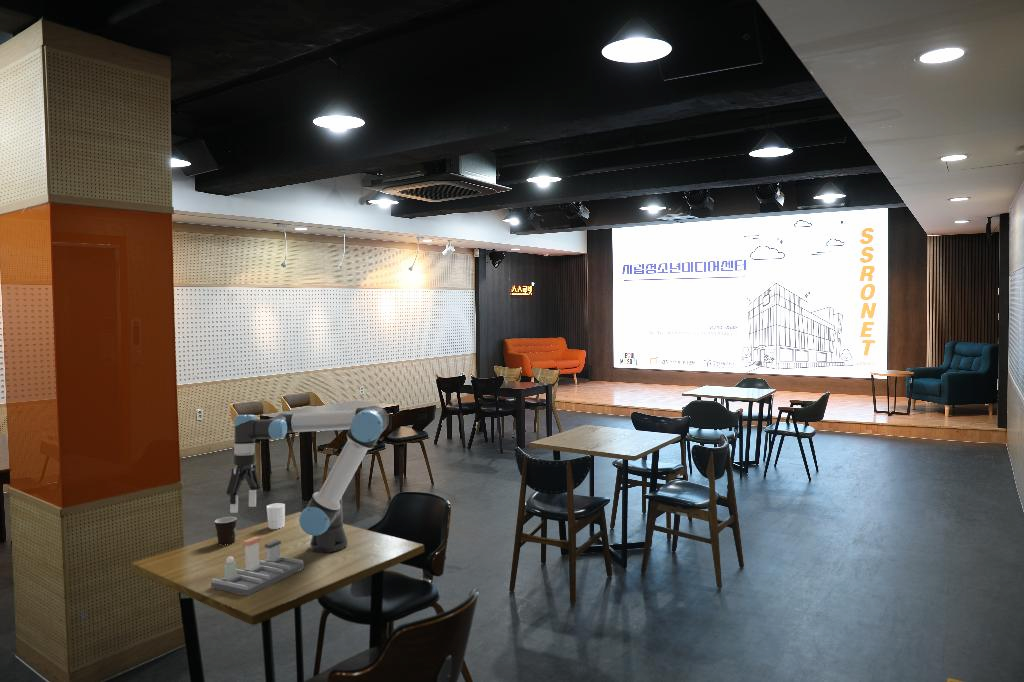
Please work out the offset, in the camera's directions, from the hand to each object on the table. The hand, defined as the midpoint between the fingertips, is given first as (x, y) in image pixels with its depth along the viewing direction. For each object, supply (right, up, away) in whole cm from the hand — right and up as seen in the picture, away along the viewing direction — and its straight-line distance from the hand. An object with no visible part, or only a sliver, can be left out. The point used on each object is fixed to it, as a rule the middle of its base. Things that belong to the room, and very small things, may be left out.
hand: (243, 509), depth 268 cm
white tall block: (+9, -19, -13) cm, 25 cm away
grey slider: (+13, -19, -4) cm, 23 cm away
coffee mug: (-17, -21, +27) cm, 38 cm away
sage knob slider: (+4, -20, -22) cm, 30 cm away
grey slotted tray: (+11, -22, -14) cm, 28 cm away
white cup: (-3, -19, +46) cm, 50 cm away
